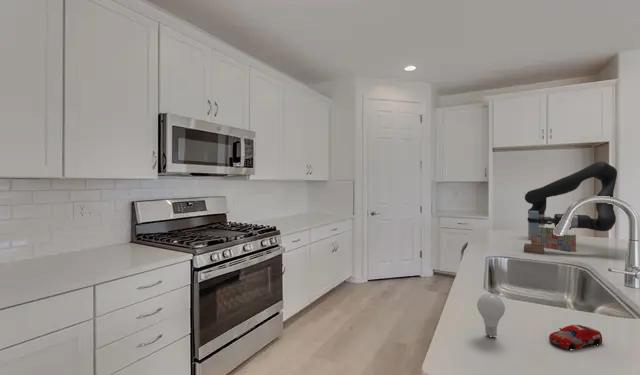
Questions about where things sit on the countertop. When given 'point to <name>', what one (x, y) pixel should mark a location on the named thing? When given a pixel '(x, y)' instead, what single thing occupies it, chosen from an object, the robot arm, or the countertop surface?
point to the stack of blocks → (554, 239)
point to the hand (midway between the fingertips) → (528, 219)
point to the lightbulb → (491, 312)
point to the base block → (534, 248)
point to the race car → (575, 337)
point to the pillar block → (534, 226)
